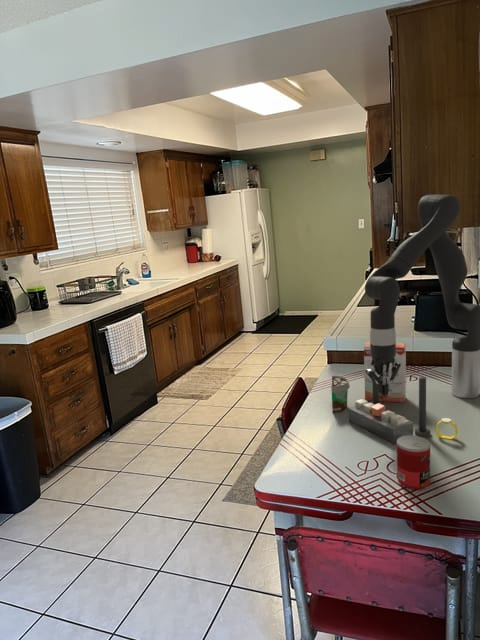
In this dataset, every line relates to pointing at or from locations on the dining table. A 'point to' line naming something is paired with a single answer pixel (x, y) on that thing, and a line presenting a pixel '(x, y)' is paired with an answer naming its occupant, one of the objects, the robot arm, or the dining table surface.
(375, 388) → the stand
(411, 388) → the dining table surface
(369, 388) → the cracker box
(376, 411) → the breaker paddle
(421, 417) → the stand
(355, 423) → the breaker strip
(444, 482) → the dining table surface
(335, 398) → the food container
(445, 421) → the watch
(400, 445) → the canned food
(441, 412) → the dining table surface
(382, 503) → the dining table surface
